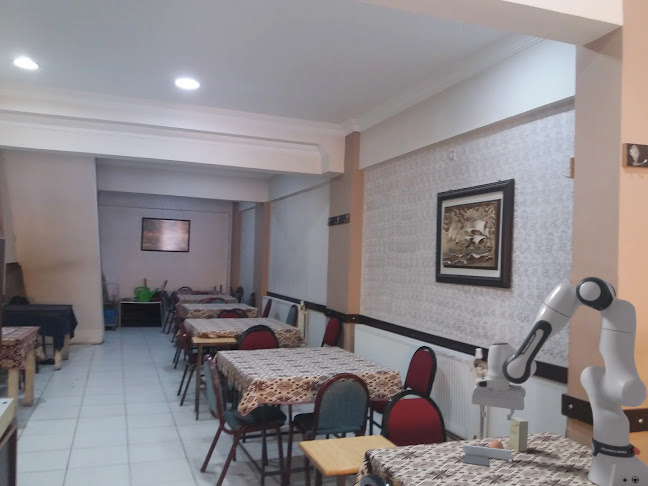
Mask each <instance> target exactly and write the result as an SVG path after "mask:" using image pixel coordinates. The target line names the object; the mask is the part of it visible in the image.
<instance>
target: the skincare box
mask: <svg viewBox="0 0 648 486" xmlns="http://www.w3.org/2000/svg"><path fill="white" fill-rule="evenodd" d="M509 421H510V422H509V423H510V425H509V439H508V440H509V444H508V445H509V446H508V447H510V448H511V449H512V450H515V451H517V452H527V451H528V434H529V433H528V432H529V420H527V419H525V418H522V417H520V416H511V420H509Z"/></svg>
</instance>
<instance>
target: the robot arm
mask: <svg viewBox="0 0 648 486" xmlns="http://www.w3.org/2000/svg"><path fill="white" fill-rule="evenodd" d="M616 293H617V292H616V290H615V288H614V287H613V285H612V284H611V283H609V282H608V281H607V280H605V279H603V278H600V277H596V276H588V277H584V278H582V279H581V280H580V281H579V282H578V283H577V285H574V284H572V283H569V282H560V283H558V284H557V285H555V287H554V288H553V289H552V290H551V291H550V293H549V294H548V295H547V296H546V298H545V299H544V301H543V302H542V305H541V306H540V308H539V310H538V312H537V314H536V317H535V320H534V322H533V324H532V326H531V329H530V330H529V333H528V334H527V335H526V337H525V339H524V341H523V342H522V343H521V345H520V347H519V348H518V349H516V348H515V347H513V346H512V345H511V344H510V343H509V342H496V343H493V344H491V345H490V346H489V349H488V354H487V367H488V369H487V372H486V376H484V377H477V378H475V381H474V384H475V385H473V387H472V391H471V397H470V402H471V404H472V405H475V406H479V409H480V411H481V417H482V418H487V411H485V410H484V407H491V408H500V409H506V410H510V413H509V414H506V420H507V421H510V420H511V417H513V415H514V413H515V412H516V411H523V410H524V409H525V397H526V395H527V393H526V391H527V390H526V389H525V387H523V386H522V385H521V384H524V383H525V382H526V383H527V381H528V379H530V378H531V377H532V376H534V374H535V373H536V371H537V362H536V360H535V359H536V357H537V356H538V354H539V352H540V351H541V349H542V348H543V346H544V345H545V344H546V343H547V342H548V341H549V340H550V339H551V338H553V337H554V336H557V335H558V334H559V333H560V332H561V331H562V330H563V329H564V328H565V327H566V326H567V325H568V323H569V322H570V321H571V320H572V317H573V316H574V314H575V313H576V311H577V310H578V309H579V308H580V307H582V306H586V307H589V308H590V309H592V310H593V309H594V310H596V311H599V312H600V319H601V320H600V329H599V337H598V344H597V345H598V346H597V348H598V349H597V350H598V352H599V354H600V355H601V357H602V358H603V361H604V366H603V365H590V366H587V367H585V368H584V369H583V370H582V372H581V373H580V380H579V381H580V384H581V386H582V387H583V389H584V390H585V392H586V395H587V396H588V400H589V402H590V408H591V411H592V419H593V422H592V423H593V425H592V426H593V428H592V429H593V431H592V432H593V437H592V438H591V443H590V444H591V451H590V452H591V455H592V457H591V463H590V468H589V472H588V475H587V479H588V480H589V481H590V482H591V483H593V484H596V485H598V486H648V465H647V463H645V462H644V461H642V459H640V458H639V457H638V456H640V454H641V453H642V452H641V450H640V449H639V448H638V447H636V446H635V445H633V444H632V443H630V421H629V419H628V416H627V415H626V414H625V413H624V410H623V407H628V408H629V407H631V408H637V407H640V406H641V405H643V404H644V402H645V401H646V399H647V397H648V396H647V395H648V390H647V386H646V384H645V382H643V381H642V378H641V377H640V375H639V373H638V369H637V365H636V360H635V348H636V347H635V346H636V344H635V343H636V335H637V312H636V307H635V305H634V304H633V303H631V302H630V301H627V300H625V299H621V298H617V297H616V295H617V294H616ZM511 383H512V384H511ZM515 384H516V385H515Z"/></svg>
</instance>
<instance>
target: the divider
mask: <svg viewBox="0 0 648 486" xmlns="http://www.w3.org/2000/svg"><path fill="white" fill-rule="evenodd" d="M465 454H467V455H475V456H482V457H488V459H489V458H490V459H495V460H496V459H497V460H504V461H508V462H509V463H512V462H513V460H512V450H511V449H504V448H503V449H496V448H490V447H486V446H478V445H471V444H470V445H469V444H462V457H464V456H465Z"/></svg>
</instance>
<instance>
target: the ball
mask: <svg viewBox="0 0 648 486" xmlns="http://www.w3.org/2000/svg"><path fill="white" fill-rule="evenodd" d="M489 448H496V449H504V444H503V442H501V441H500V440H492V441H491V442H490V445H489Z"/></svg>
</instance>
